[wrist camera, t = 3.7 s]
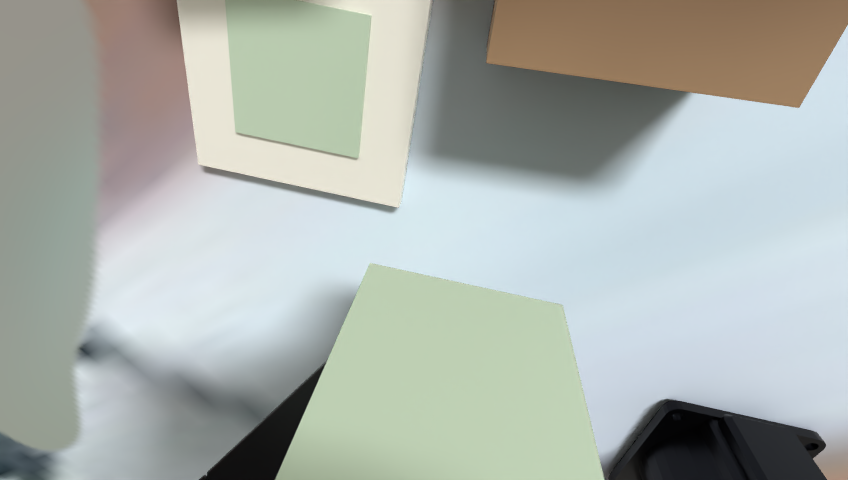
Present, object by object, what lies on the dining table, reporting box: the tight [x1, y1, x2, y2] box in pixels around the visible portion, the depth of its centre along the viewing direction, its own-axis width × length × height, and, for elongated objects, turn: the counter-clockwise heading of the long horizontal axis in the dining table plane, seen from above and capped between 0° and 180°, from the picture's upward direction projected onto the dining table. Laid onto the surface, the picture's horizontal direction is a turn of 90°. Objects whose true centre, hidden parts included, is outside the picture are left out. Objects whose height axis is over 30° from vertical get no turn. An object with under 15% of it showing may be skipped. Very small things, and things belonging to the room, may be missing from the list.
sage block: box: [275, 263, 604, 480], centre depth 8 cm, size 4×4×5 cm
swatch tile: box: [177, 0, 433, 208], centre depth 12 cm, size 7×7×1 cm
